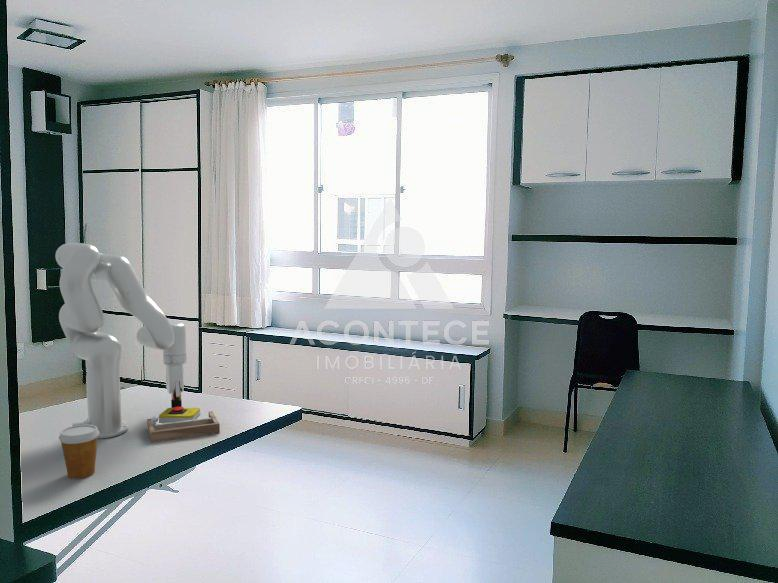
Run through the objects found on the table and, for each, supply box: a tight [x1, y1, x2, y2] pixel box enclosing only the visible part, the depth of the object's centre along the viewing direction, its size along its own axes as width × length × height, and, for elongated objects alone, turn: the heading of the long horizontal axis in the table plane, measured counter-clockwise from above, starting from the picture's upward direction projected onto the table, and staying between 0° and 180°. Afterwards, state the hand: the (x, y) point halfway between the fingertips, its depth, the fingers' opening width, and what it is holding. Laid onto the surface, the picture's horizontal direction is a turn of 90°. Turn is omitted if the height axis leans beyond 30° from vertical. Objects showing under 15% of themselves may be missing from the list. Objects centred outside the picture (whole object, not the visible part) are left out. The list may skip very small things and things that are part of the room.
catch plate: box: [154, 417, 211, 431], centre depth 195 cm, size 1×17×3 cm, turn 115°
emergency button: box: [158, 406, 202, 423], centre depth 207 cm, size 9×4×15 cm
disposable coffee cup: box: [58, 425, 99, 480], centre depth 161 cm, size 10×10×12 cm
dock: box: [146, 411, 221, 443], centre depth 196 cm, size 14×20×3 cm
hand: (176, 410), depth 214 cm, fingers closed
